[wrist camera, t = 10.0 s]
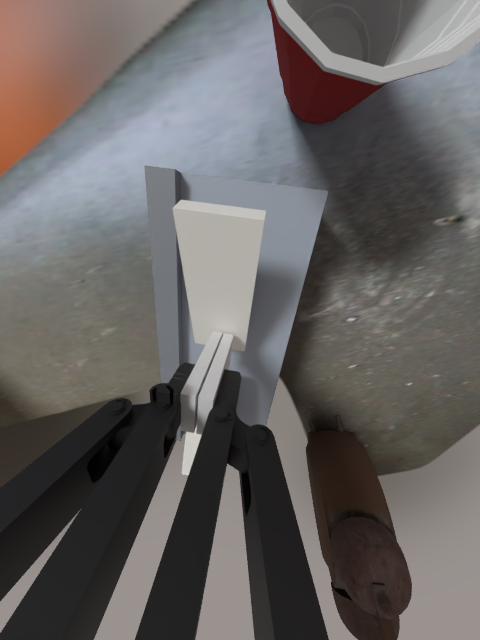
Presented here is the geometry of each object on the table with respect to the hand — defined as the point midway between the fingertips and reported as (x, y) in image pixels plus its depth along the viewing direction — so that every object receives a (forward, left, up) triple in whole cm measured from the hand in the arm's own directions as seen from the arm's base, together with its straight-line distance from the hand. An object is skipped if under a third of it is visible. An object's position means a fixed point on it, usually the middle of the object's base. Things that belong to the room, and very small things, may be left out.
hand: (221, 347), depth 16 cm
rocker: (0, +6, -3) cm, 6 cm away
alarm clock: (+17, -19, -9) cm, 27 cm away
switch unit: (0, -2, -9) cm, 9 cm away
